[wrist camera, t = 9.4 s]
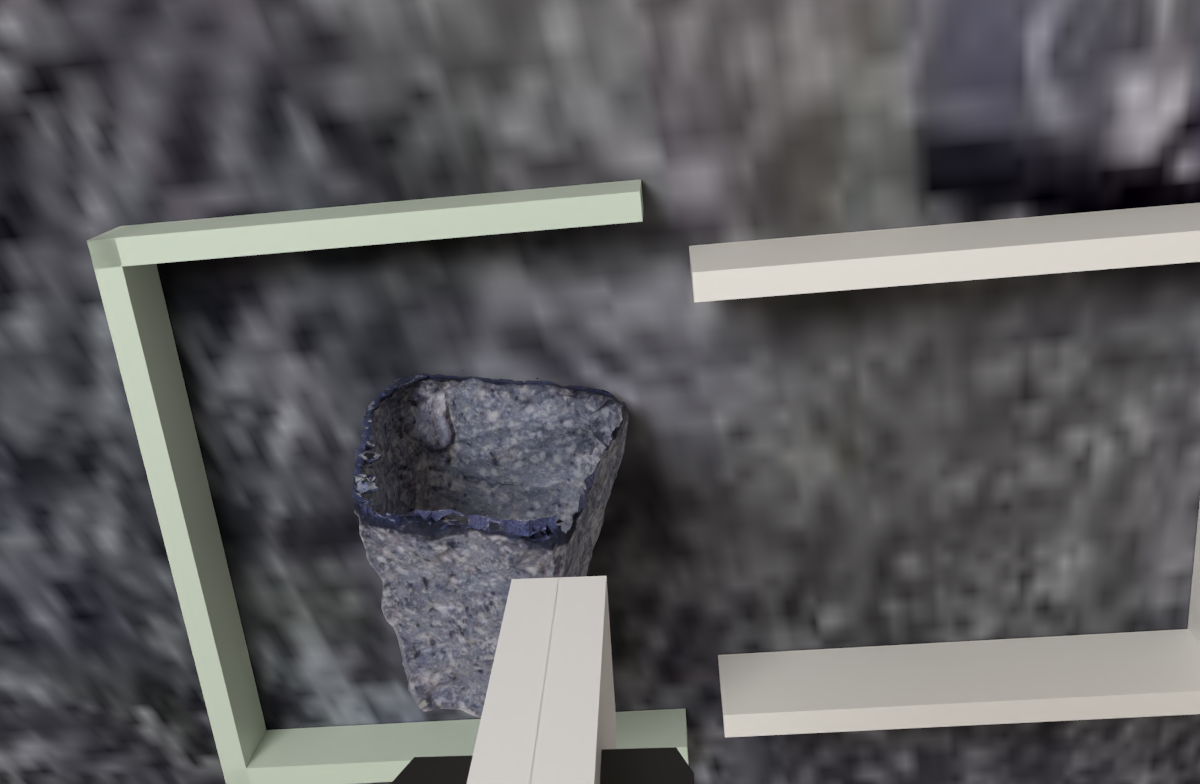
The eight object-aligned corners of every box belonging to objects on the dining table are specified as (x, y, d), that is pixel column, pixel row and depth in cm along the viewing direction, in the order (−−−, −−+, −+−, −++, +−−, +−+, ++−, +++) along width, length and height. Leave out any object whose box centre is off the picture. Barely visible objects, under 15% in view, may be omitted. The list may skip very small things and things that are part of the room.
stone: (428, 305, 42) (676, 357, 39) (440, 511, 47) (660, 572, 44) (232, 468, 33) (540, 553, 30) (273, 705, 38) (539, 798, 35)
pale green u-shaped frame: (248, 750, 48) (227, 789, 45) (120, 226, 40) (86, 240, 38) (687, 728, 46) (688, 767, 44) (641, 179, 39) (639, 191, 36)
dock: (719, 675, 45) (724, 737, 42) (688, 245, 39) (692, 272, 36) (1211, 649, 44) (1263, 710, 40) (1257, 197, 38) (1324, 220, 34)
